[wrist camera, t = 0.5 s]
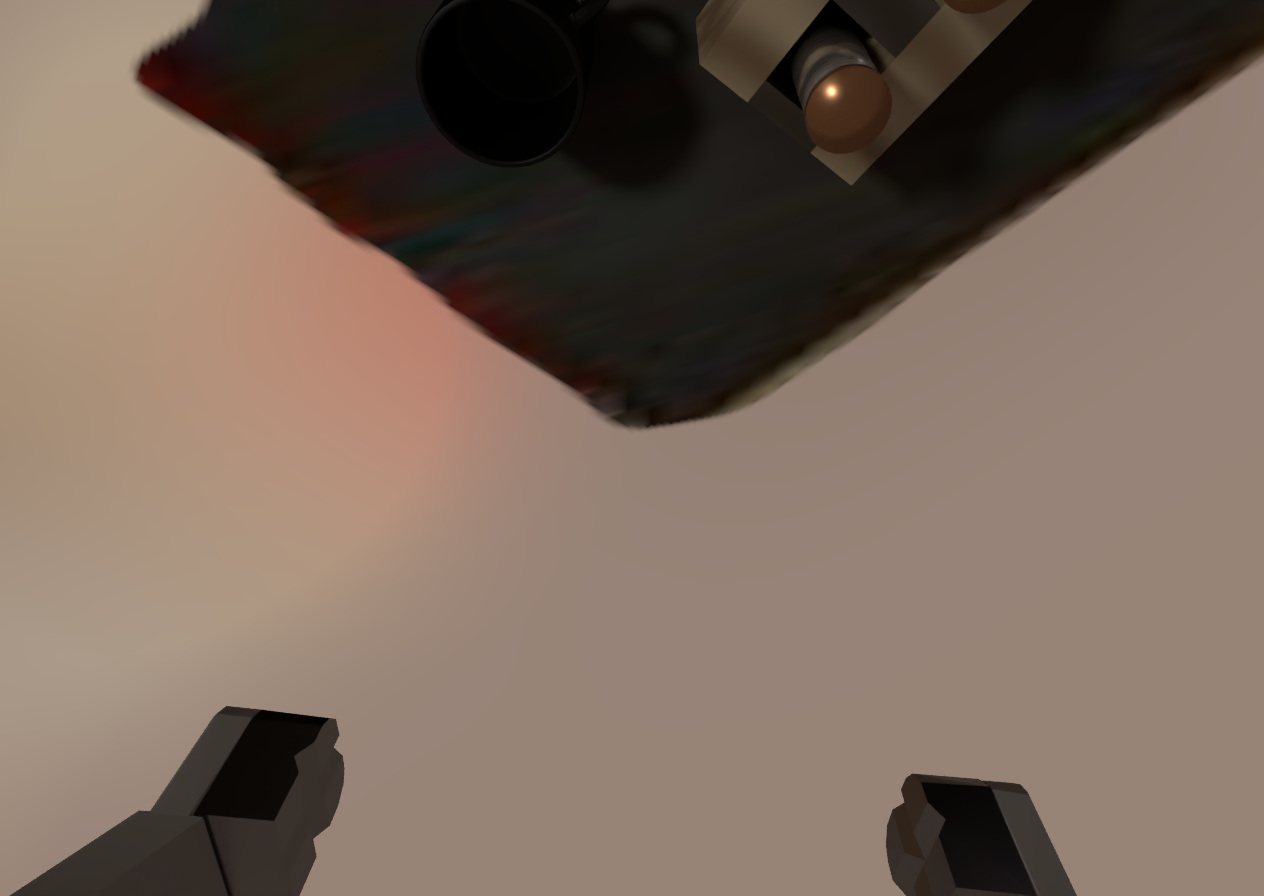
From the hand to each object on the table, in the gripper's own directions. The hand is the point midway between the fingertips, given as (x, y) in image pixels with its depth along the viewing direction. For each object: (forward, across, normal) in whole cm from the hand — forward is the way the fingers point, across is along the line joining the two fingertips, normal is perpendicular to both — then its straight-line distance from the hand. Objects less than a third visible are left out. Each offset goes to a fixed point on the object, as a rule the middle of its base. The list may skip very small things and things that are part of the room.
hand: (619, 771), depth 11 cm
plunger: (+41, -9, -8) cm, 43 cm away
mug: (+47, +9, -9) cm, 49 cm away
